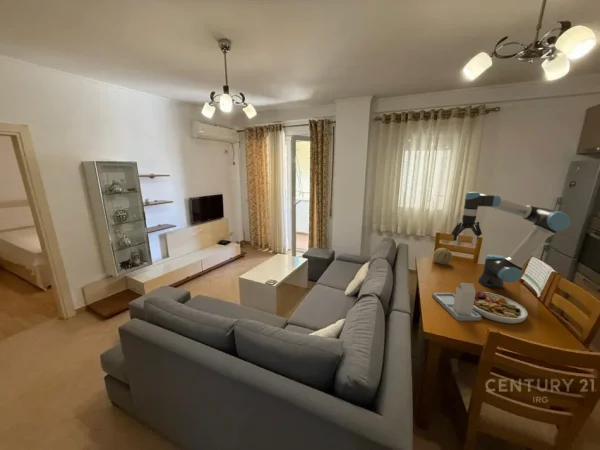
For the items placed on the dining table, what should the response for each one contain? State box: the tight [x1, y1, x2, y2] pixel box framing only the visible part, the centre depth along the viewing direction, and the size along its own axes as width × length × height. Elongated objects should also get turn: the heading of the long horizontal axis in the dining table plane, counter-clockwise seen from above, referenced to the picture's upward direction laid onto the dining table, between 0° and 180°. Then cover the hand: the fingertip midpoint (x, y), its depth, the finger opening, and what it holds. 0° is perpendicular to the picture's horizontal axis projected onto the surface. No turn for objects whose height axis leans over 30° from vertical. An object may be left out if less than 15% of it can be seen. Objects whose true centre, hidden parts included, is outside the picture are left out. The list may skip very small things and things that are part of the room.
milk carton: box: [453, 282, 476, 315], centre depth 146 cm, size 7×7×19 cm
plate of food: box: [473, 290, 528, 324], centre depth 150 cm, size 30×30×8 cm
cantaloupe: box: [433, 247, 453, 265], centre depth 221 cm, size 15×15×15 cm
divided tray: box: [431, 292, 483, 322], centre depth 154 cm, size 14×27×3 cm, turn 1°
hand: (464, 244), depth 169 cm, fingers open, 13 cm apart
